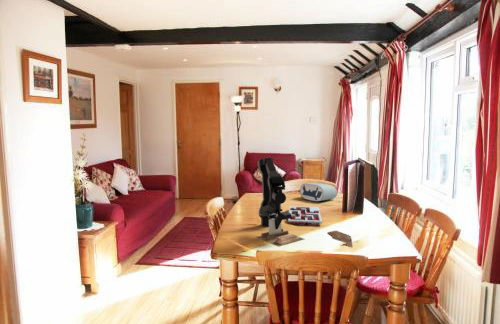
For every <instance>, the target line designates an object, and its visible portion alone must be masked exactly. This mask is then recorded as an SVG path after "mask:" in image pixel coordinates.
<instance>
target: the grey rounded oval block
mask: <svg viewBox="0 0 500 324" xmlns="http://www.w3.org/2000/svg"><path fill="white" fill-rule="evenodd" d="M299 194H300V197H302V198H303V199H305V200H306V201H312V202H321V201H322V202H323V201H329V200H333V199H335V198H336V197H337V196H338V191H337V189H336V187H335V186H333V185H332V184H331V185H330V184H326V183H320V182H310V183H309V182H308V183H306V182H305V183H303V184H301V186H300V188H299Z"/></svg>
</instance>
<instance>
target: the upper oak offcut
mask: <svg viewBox="0 0 500 324" xmlns="http://www.w3.org/2000/svg"><path fill="white" fill-rule="evenodd" d="M294 238H297V234H294V233H290V234H288V235H284V236H280V237H277V240H279V241H281V242H283V241H287V240H291V239H294Z"/></svg>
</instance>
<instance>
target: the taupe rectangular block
mask: <svg viewBox="0 0 500 324" xmlns="http://www.w3.org/2000/svg"><path fill="white" fill-rule="evenodd" d="M281 229H282V222H281V223H280V225H279V227H278V229H276V228H275V219H274V218H273V219H269V227H268V232H269V235H271V234H275V233H279V232H281Z"/></svg>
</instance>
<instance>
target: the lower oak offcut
mask: <svg viewBox="0 0 500 324" xmlns="http://www.w3.org/2000/svg"><path fill="white" fill-rule="evenodd" d="M297 240H300V236H298V237H297V238H294V239H291V240H287V241H283V242H281V241H279V240H277V239H276V240H275V242H276V243H279V244H281V245H283V244H286V243H290V242H293V241H297ZM297 242H298V241H297ZM290 244H291V243H290ZM283 246H284V245H283Z"/></svg>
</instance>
